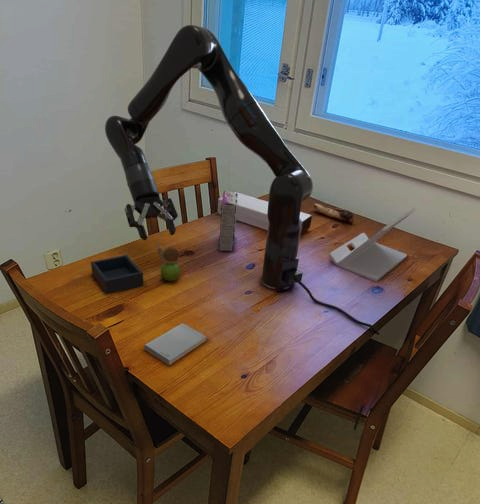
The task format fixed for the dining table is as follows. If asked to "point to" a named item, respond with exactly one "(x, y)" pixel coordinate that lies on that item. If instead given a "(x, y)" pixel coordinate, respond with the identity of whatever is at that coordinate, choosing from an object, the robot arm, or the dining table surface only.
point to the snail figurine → (169, 262)
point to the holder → (117, 274)
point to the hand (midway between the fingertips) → (159, 236)
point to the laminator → (258, 212)
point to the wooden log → (335, 213)
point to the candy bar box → (228, 221)
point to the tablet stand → (369, 254)
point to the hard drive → (175, 343)
